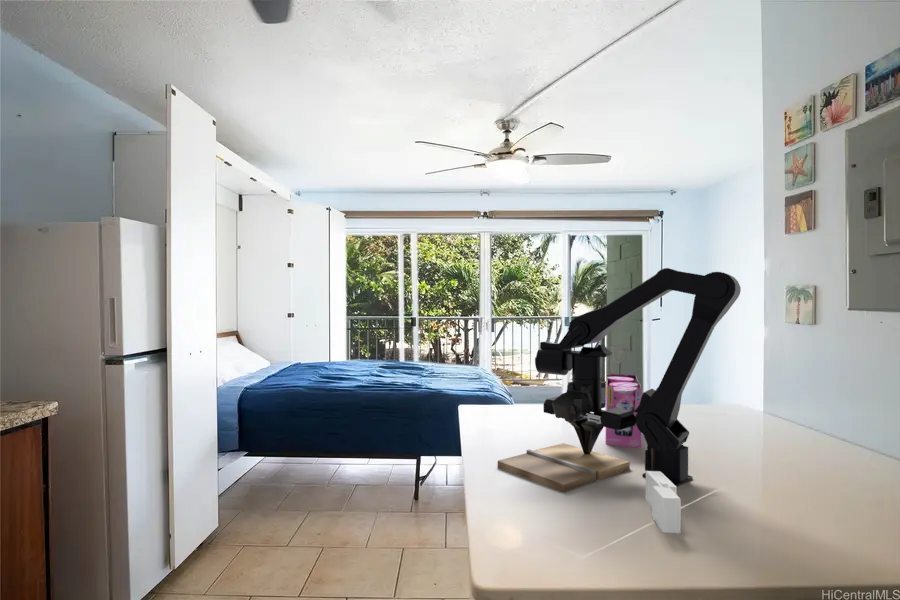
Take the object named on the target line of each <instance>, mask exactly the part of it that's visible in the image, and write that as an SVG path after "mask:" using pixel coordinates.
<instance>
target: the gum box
mask: <svg viewBox="0 0 900 600" xmlns="http://www.w3.org/2000/svg"><path fill="white" fill-rule="evenodd" d="M605 377H606V378H605V411H606V410H610V409H613V408H621V409H626V410H631V411H632V412H633V413H634V415H635V417H636V415H637V413H638V412H634V410H635V409H636V408H637V407H638V406H639V404H640V401H641V397H642V385H641V383H640V382H639V380H638V378H637V375H636V374H617V373H606V376H605ZM605 445H607V446H608V445H611V446H620V447H632V448H642V433H641V432H640V431H639V429H638V428H637V425H634V426H631V427H628V428H625V429H622V430H615V429H611V428H607V427H605Z"/></svg>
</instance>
